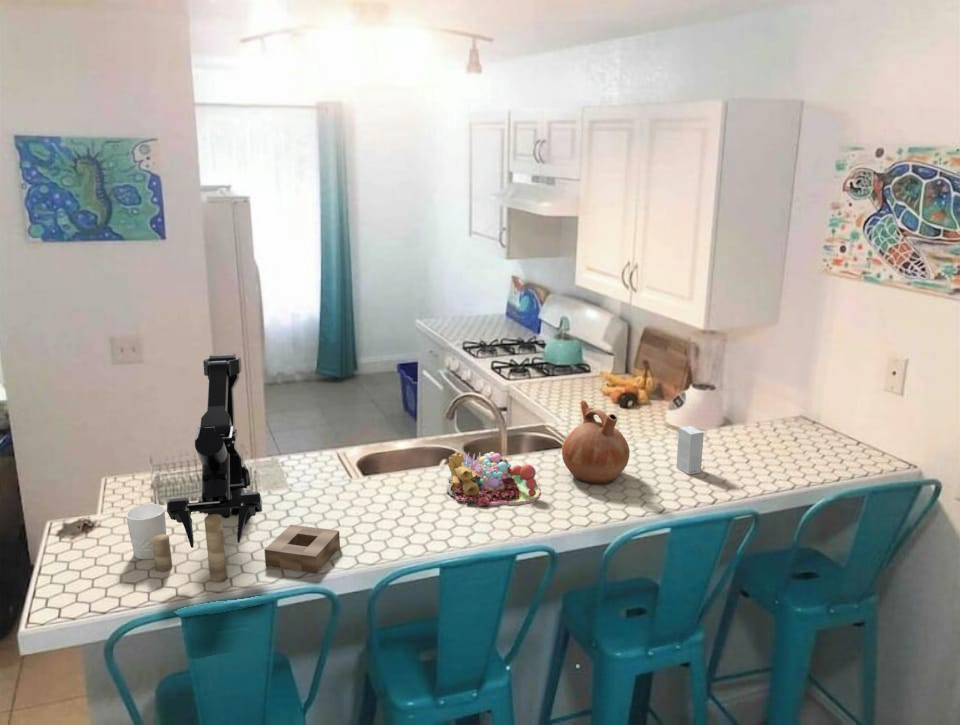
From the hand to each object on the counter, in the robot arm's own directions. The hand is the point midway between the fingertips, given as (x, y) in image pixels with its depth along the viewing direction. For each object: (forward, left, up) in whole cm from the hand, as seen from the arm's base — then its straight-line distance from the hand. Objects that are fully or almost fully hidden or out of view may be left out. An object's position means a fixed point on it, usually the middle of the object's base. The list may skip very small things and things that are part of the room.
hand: (215, 544), depth 166 cm
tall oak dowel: (0, 0, -8) cm, 8 cm away
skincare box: (-84, +95, -8) cm, 127 cm away
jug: (-73, +70, -8) cm, 102 cm away
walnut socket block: (-13, +13, -8) cm, 20 cm away
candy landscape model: (-59, +45, -9) cm, 75 cm away
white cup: (-6, -21, -8) cm, 24 cm away
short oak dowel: (-1, -14, -8) cm, 16 cm away
